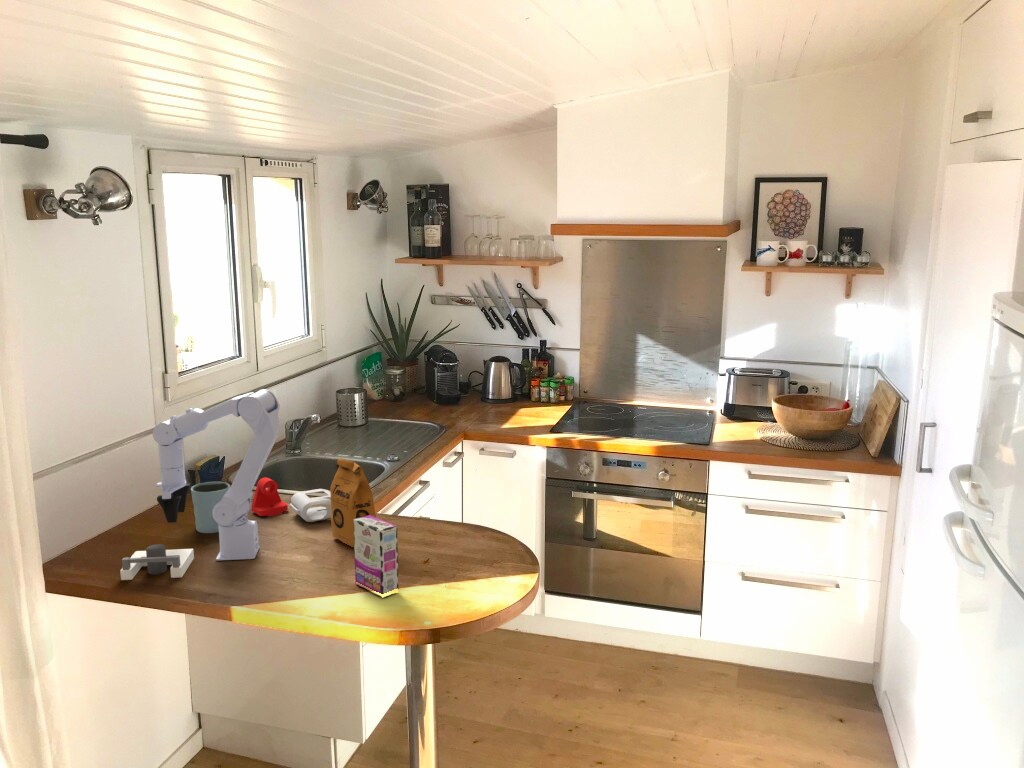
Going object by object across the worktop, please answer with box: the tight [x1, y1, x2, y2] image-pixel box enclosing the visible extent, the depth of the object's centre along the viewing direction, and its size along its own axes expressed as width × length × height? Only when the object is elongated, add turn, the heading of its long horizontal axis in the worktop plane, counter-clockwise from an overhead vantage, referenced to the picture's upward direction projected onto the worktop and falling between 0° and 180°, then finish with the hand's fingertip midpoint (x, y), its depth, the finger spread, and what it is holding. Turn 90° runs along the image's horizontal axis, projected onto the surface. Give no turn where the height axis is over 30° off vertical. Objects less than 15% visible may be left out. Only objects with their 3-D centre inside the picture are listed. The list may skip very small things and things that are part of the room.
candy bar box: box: [353, 515, 399, 594], centre depth 197 cm, size 11×5×16 cm, turn 45°
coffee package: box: [329, 458, 377, 548], centre depth 226 cm, size 10×12×22 cm
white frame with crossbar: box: [119, 548, 195, 581], centre depth 209 cm, size 14×12×5 cm
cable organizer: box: [289, 488, 331, 523], centre depth 245 cm, size 7×12×12 cm
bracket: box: [251, 477, 289, 518], centre depth 249 cm, size 9×6×10 cm
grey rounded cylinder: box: [145, 543, 168, 575], centre depth 208 cm, size 4×4×6 cm
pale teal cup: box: [190, 481, 231, 534], centre depth 237 cm, size 10×10×12 cm
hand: (176, 516), depth 219 cm, fingers open, 7 cm apart
